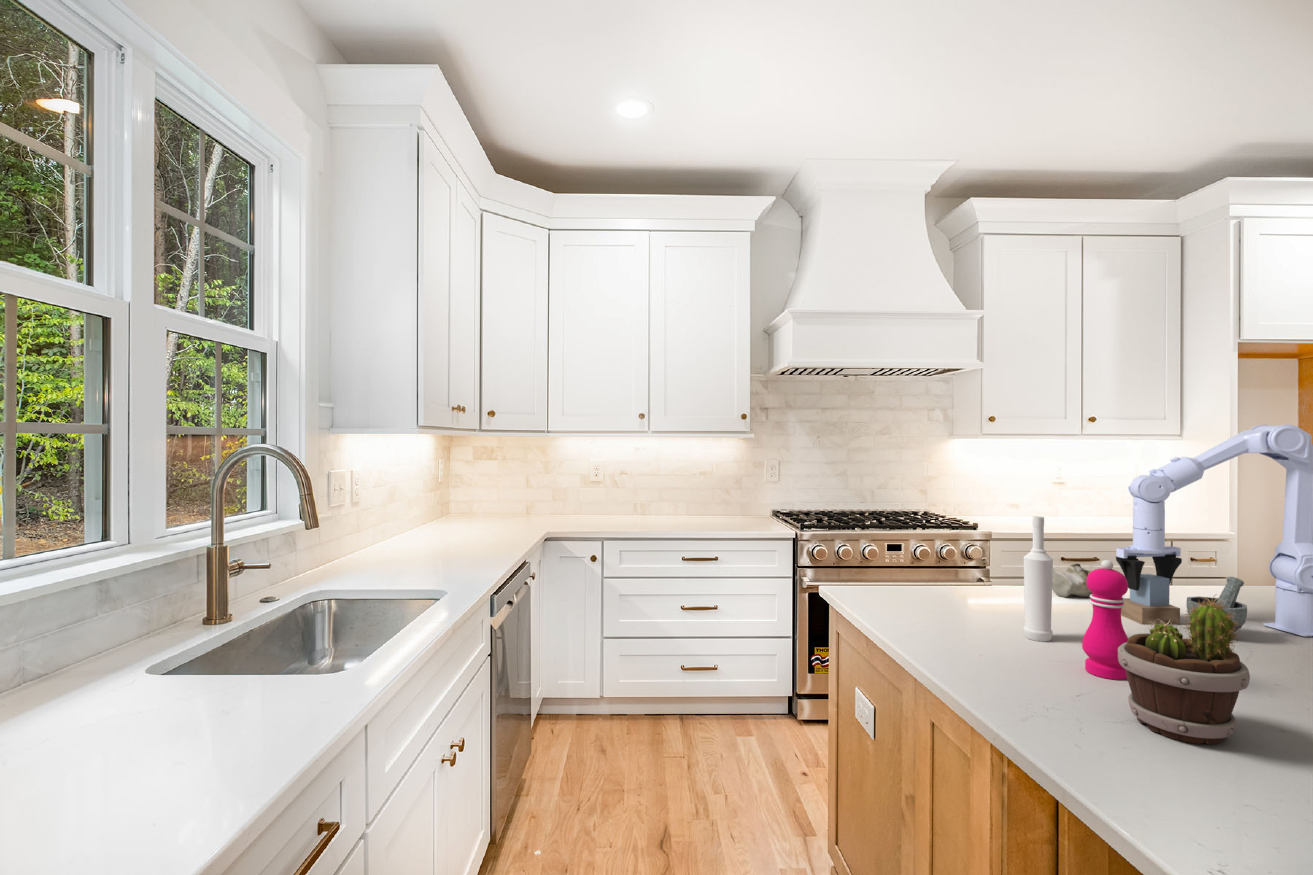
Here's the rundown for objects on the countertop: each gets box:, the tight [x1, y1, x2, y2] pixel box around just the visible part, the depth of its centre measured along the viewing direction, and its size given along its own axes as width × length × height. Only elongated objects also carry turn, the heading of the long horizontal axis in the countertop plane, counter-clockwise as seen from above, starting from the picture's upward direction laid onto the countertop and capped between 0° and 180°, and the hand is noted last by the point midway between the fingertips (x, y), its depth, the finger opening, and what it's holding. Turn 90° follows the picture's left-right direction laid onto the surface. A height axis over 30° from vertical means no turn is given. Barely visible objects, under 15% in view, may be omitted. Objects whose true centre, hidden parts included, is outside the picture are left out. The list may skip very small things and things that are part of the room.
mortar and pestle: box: [1186, 576, 1248, 641], centre depth 133 cm, size 11×9×12 cm
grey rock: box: [1052, 563, 1092, 598], centre depth 164 cm, size 11×9×15 cm
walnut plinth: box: [1121, 597, 1181, 626], centre depth 144 cm, size 8×8×4 cm
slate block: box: [1129, 573, 1170, 606], centre depth 144 cm, size 5×5×6 cm
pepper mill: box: [1081, 559, 1129, 681], centre depth 112 cm, size 7×7×20 cm
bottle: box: [1022, 515, 1054, 643], centre depth 131 cm, size 5×5×25 cm
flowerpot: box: [1118, 594, 1251, 745], centre depth 91 cm, size 14×15×20 cm
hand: (1148, 588), depth 144 cm, fingers open, 7 cm apart
